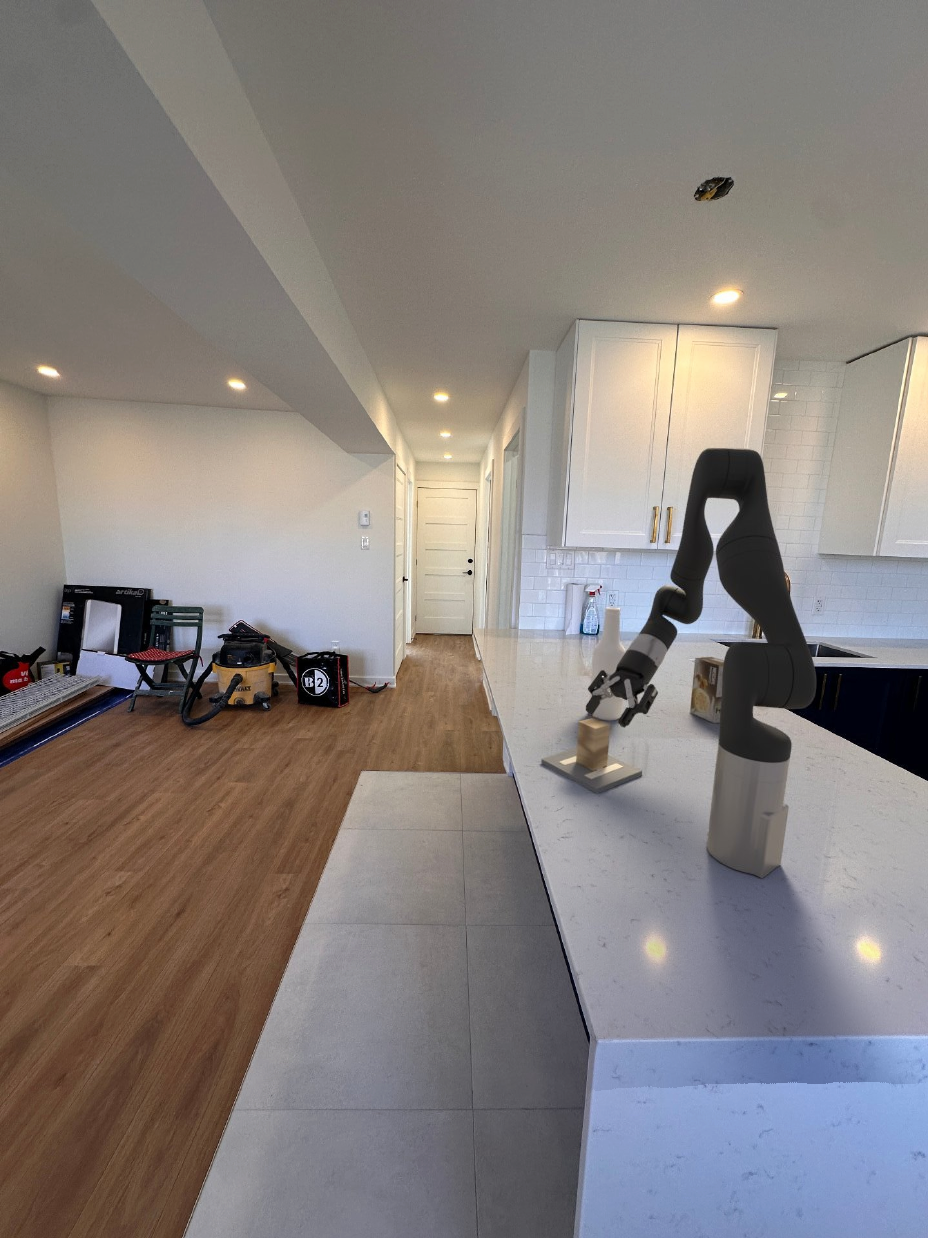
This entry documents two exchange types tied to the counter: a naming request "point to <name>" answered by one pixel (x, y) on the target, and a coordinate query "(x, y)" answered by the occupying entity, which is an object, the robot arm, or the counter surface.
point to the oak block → (593, 743)
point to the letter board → (590, 779)
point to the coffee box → (707, 688)
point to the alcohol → (608, 662)
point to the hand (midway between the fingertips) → (604, 718)
